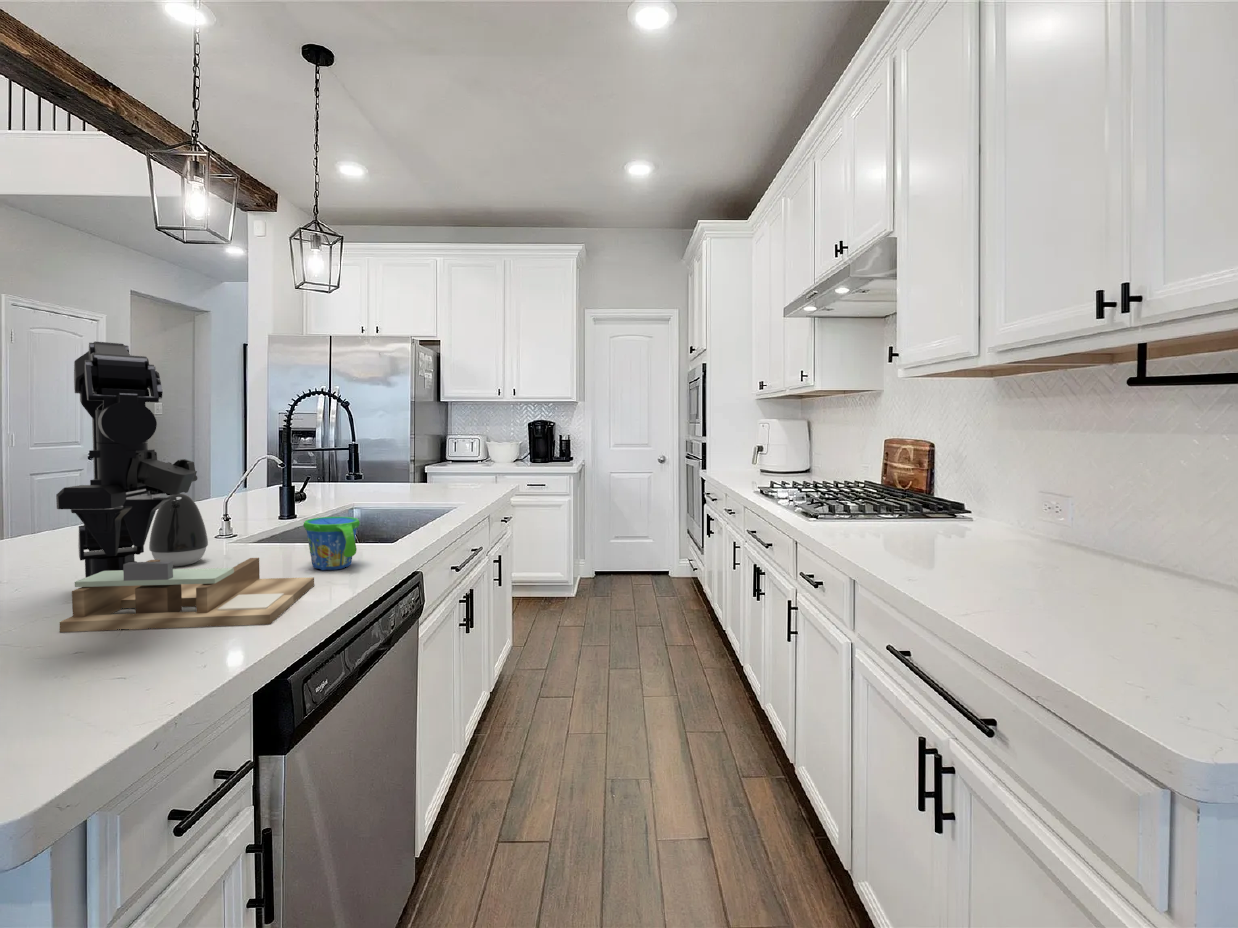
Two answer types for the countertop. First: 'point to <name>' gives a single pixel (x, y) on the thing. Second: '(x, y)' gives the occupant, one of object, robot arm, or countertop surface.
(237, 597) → the cream pad
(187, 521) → the dark grey rounded dome
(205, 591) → the puzzle board
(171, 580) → the sliding cover
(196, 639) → the countertop surface
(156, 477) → the robot arm
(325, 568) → the snack cup
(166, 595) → the walnut block
